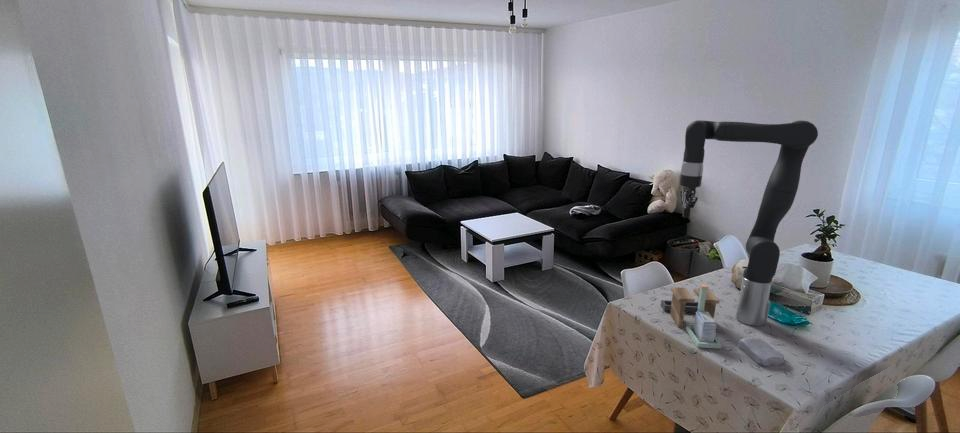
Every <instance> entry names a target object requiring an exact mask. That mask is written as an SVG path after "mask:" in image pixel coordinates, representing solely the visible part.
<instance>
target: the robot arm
mask: <svg viewBox="0 0 960 433" xmlns="http://www.w3.org/2000/svg"><path fill="white" fill-rule="evenodd" d="M818 136H819V132H818V128H817V127H816V125H815V124H813V122H810V121H808V120H796V121H792V122H788V123H777V124H775V123H772V124H770V123H767V124H765V123H755V122H745V121H743V122H742V121H713V120H700V119H699V120H698V119H697V120H694V121H692V122H690V123H689V124H688V125H687V127H686V129H685V137H684V146H685V147H684V151H683V157H682V158H683V160H682V164H681V170H680V175H679V177H680V179H679V185H680V186H681V187H682V188H683V189H682V190H680V192H679V194H680V202H681V203H680V204H681V205H682V218H685V219H689V218H690V216H691V209H694V207H695V206H696V203H697V201H698V199H699V198H698V197H697V192H696V190H697V188H700V187H702V180H703V174H704V173H703V172H704V160H705V159H704V158H705V144H706V140H715V141H719V142H720V141H721V142H735V143H749V142H750V143H768V144H774V145H775V144H777V145H780V148H779V153H778V157H777V159H776V162H775V164H774V166H773V169H772V171H771V174H770V176H769V178H768V181H767V183H766V186H765V188H764V191H763V195H762V199H761V203H760V206H759V209H758V213H757V215H756V216H757V217H756V220H755V222H754V225H753V227H752V230H751V231H750V234H749V236H748V238H747V239H746V242H745V250H746V253H747V254H748V260H749V262H748V267H747V268H746V269H745V270H744V273H743V278H742V284H741V290H740V289H739V290H740V291H739V296H738V302H737V308H736V311H735V312H736V314H735V319H736V320H738V322H740V323H743V324H745V325H748V326H755V327H761V326H763V325H765V326H766V325H767V322H768V318H769V317H768V316H769V312H770V308H771V300H770V298H769V297H770V292H771V287H772V283H773V279H774V277H775V276H776V273H777V269H778V264H779V260H780V255H781V254H780V253H781V251H780V248H779V246H778V244H777V243H775V237H776V233H777V229H778V228H779V224H780V223H781V221H782V220H784V218H785V216H786V215H787V214H788V213H789V211H790V210H791V208H792V206H793V204H794V201H795V199H796V195H797V192H798V189H799V185H800V178H801V171H802V165H803V161H804V159H805V156H806V155H807V151H808V149H809V148H810V146H812V145H813V144H814V143H815V142H816V141H817V139H818Z"/></svg>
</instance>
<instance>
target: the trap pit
mask: <svg viewBox="0 0 960 433" xmlns="http://www.w3.org/2000/svg"><path fill="white" fill-rule="evenodd" d="M671 303H672V300H667V299H666V300H665V299H662V300H660V307H661V309H662V310H663V312H668V313H670V311H671ZM697 308H698V301H695V302H686V304H685V311H684V314H685V313H687V314H688V313H689V314H696V312H697Z"/></svg>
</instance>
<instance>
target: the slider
mask: <svg viewBox="0 0 960 433" xmlns="http://www.w3.org/2000/svg"><path fill="white" fill-rule="evenodd" d="M699 289H700V294H699V297H698V301H697V302H698V308H697V312H704V306H705V299H706V293H707V289H709V286H708V285H707V284H704V283H703V284H699ZM693 328H694V325H691V326H690V325H689V326H688V325H687V326H686V328H685V330H686V332H687V333H688V335H689V336H690V338H691V339H692V341H693V343H694V344H695V346H696V347H697V348H703V349H705V348H707V349H719V350H721V349H722V345H723V344H722V343H721V342H720V341H719V340H718V338H717V337H716V336H715V339H714V343H705V342H699V340H698V339H697V337H696V336H695V334H694V333H693Z"/></svg>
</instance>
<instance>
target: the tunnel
mask: <svg viewBox="0 0 960 433" xmlns="http://www.w3.org/2000/svg"><path fill="white" fill-rule="evenodd" d="M670 291H671V293H672V297H671V301H672V303H671V311H670V312H669V315H670V317H671V319H672V320H673V322H674V324H675V326H676V327H677V328H679V329H680V328H682V329H683V324H684V318H685V317H684V316H685V313H684V311H685V304H686V302H696V300H695V299H696V298H695V297H693V295H692V294H691V293H690V291H689V290H688V289H687V288H686V287H676V286H675V287H674V286H671V287H670ZM693 293H694V294H695V295H696V296H697V298H699V294H700V287H699V288H696V287H694V288H693ZM717 304H720V299H719V298H718V297H717V296H716V294H714V293H713V292H712V290H710V289H709V288H708V289H707V293H706V299H705V306H704V312H708V313H709V314H710V315H711V316H712V318H713V319H714V320H715V313H716V307H717Z"/></svg>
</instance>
